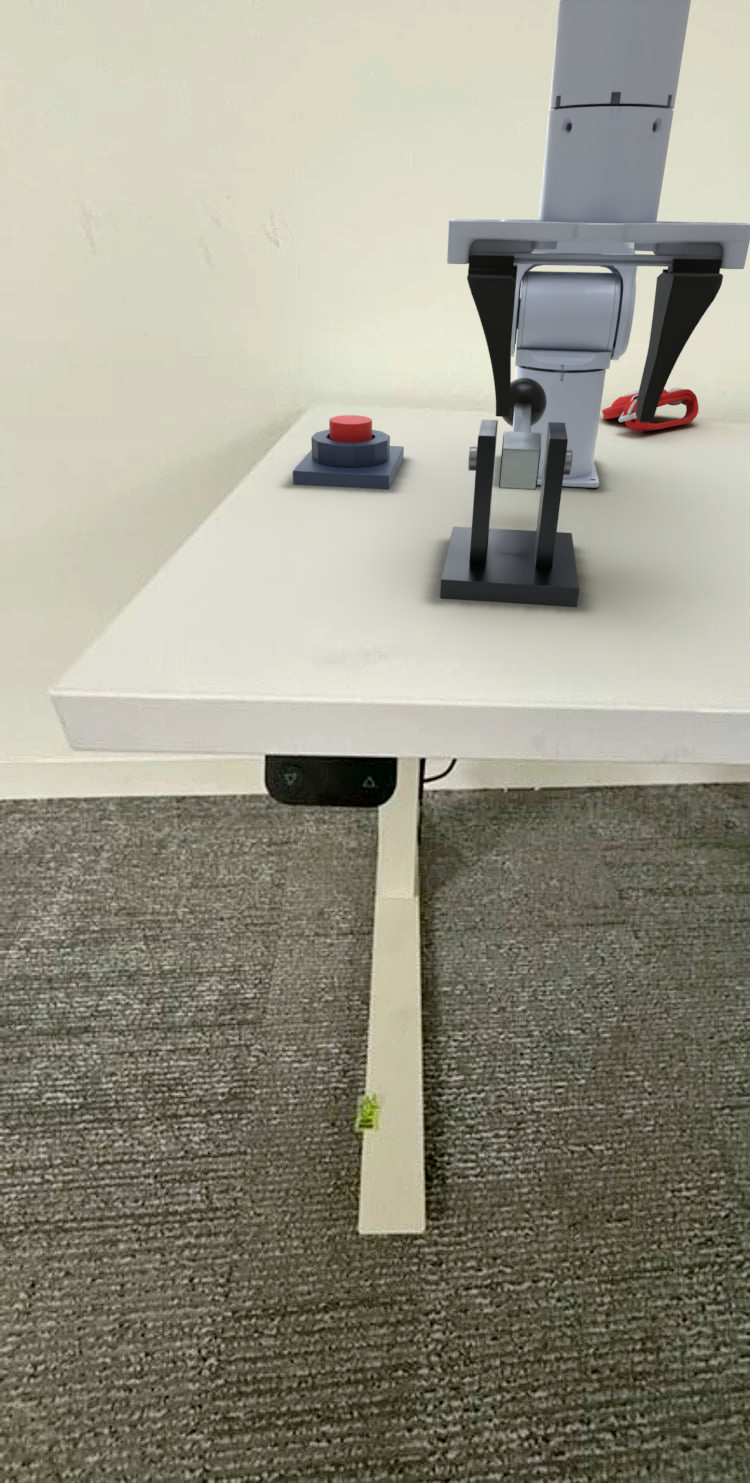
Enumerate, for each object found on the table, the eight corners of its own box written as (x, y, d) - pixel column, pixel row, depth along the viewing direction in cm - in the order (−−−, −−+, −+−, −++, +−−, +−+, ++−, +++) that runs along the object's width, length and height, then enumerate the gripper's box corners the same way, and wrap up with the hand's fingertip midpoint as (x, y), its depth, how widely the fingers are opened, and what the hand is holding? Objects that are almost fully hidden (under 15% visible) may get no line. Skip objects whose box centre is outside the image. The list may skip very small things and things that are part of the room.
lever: (498, 417, 61) (501, 370, 59) (543, 419, 61) (549, 372, 59) (489, 494, 51) (493, 441, 49) (544, 497, 51) (550, 443, 49)
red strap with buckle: (587, 402, 96) (675, 379, 96) (594, 443, 98) (680, 420, 97) (622, 396, 85) (722, 369, 84) (629, 442, 86) (727, 416, 86)
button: (334, 435, 75) (333, 414, 75) (374, 437, 75) (374, 415, 74) (326, 444, 72) (325, 423, 72) (368, 446, 72) (368, 424, 71)
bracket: (452, 543, 60) (459, 409, 55) (569, 549, 59) (587, 414, 54) (439, 598, 51) (447, 446, 47) (577, 607, 50) (598, 452, 46)
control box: (317, 455, 80) (316, 421, 78) (403, 459, 79) (404, 425, 77) (293, 485, 71) (291, 448, 70) (388, 490, 70) (389, 452, 69)
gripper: (449, 104, 38) (435, 426, 45) (795, 103, 36) (722, 438, 43) (459, 117, 44) (445, 399, 51) (757, 116, 42) (699, 409, 49)
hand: (572, 415), depth 48 cm, fingers open, 7 cm apart
